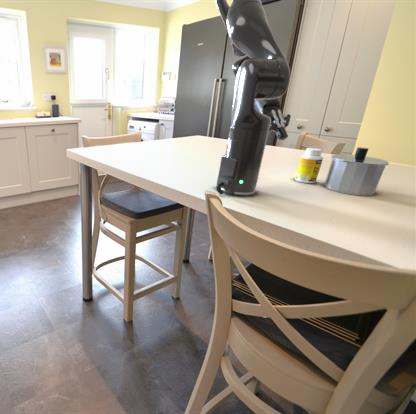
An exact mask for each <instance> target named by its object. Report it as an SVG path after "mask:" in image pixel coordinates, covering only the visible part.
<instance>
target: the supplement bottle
mask: <svg viewBox="0 0 416 414" xmlns="http://www.w3.org/2000/svg"><path fill="white" fill-rule="evenodd" d="M322 153H323V149H321V148H316V147H308V148H306V150H305V154H304V153H303V154H302V155H301V156H300V159H299V162H298V167H297V169H296V173H295V177H294V179H295V181H297V182H299V183H303V184H304V183H305V184H315V183H316V182H317V179H318V177H319V173H320V170H321V166H322V163H323V161H324V157H323V156H322Z"/></svg>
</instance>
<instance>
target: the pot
mask: <svg viewBox="0 0 416 414" xmlns="http://www.w3.org/2000/svg"><path fill="white" fill-rule="evenodd" d="M385 169H386V166H371V165H360V164H353V163H347V162H342V161H338V160H335V159H332V158H331V162H330V165H329V169H328V171H327V174H326V178H325V181H324V187H325V188H326V189H329V190H330V191H333V192H334V191H335V192H338V193H342V194H345V195H353V196H360V197H361V196H362V197H365V196H373V195H374V194H375V192H376V191H377V188H378V186H379V183H380V181H381V178H382V177H383V174H384V170H385Z"/></svg>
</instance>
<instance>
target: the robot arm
mask: <svg viewBox="0 0 416 414" xmlns="http://www.w3.org/2000/svg"><path fill="white" fill-rule="evenodd" d="M214 2H215V6H216V8H217V10H218V13H219V16H220V17H221V20H222V22H223V25H224V27H225V30H226V32H227V35H228V38H229V41H230V45H231V49H232V53H233V55H234V56H235V57H241V58H239V59H237V60H236V61H235V62H234V63H233V64H232V67H231V70H232V71H231V72H232V74H233V75H234V77H235V80H234V81H235V82H234V89H233V97H232V106H231V113H230V127H229V132H228V137H227V143H226V148H225V153H224V154H222V156H221V159H220V164H219V169H218V176H217V178H216V179H217V180H216V189H215V190H216V192H217V193H218V194H219V195H223V194H224V193H226V194H228V195H231V196H232V195H234V196H252V195H255V194H256V190H257V185H258V180H259V176H260V172H261V167H262V163H263V159H264V154H265V149H266V145H267V142H268V137H269V133H270V131H272V132H274V133H275V135H276V137H277V139H278V140H279V141H285V140H286V139H287V138H288V137H289V136H288V135H289V134H288V133H287V131H286V128H287V127H288V126H289V125H290V120H291V118H292V115H291V114H290V113H289V114H285V113H284V111H283V110H282V109H281V100H280V99H279V98H281V97H282V96H284V94H285V93H286V92H287V90H288V89H289V86H290V82H291V69H290V64H289V62H288V60H287V59H286V56H285V55H284V53H283V51H282V49H281V47H280V46H279V44H278V42H277V40H276V38H275V37H274V34H273V31H272V29H271V26H270V24H269V21H268V18H267V17H268V16H267V14H266V11H265V8H264V6H263V3H262V1H261V0H232V3H231V4H229V3H228V0H214Z"/></svg>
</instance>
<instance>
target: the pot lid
mask: <svg viewBox="0 0 416 414" xmlns="http://www.w3.org/2000/svg"><path fill="white" fill-rule="evenodd" d="M368 152H369V148H368V147H361V146H360V147H356V150H355V153H354V154H343V153H342V154H341V153H339V154H332V155H331V160H332V159H335V160H338V161H342V162H347V163H353V164H360V165H371V166H385V167H386V166H389V164H390V162H389V161H388V160H384V159H381V158H377V157H372V156H367V154H368Z"/></svg>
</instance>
